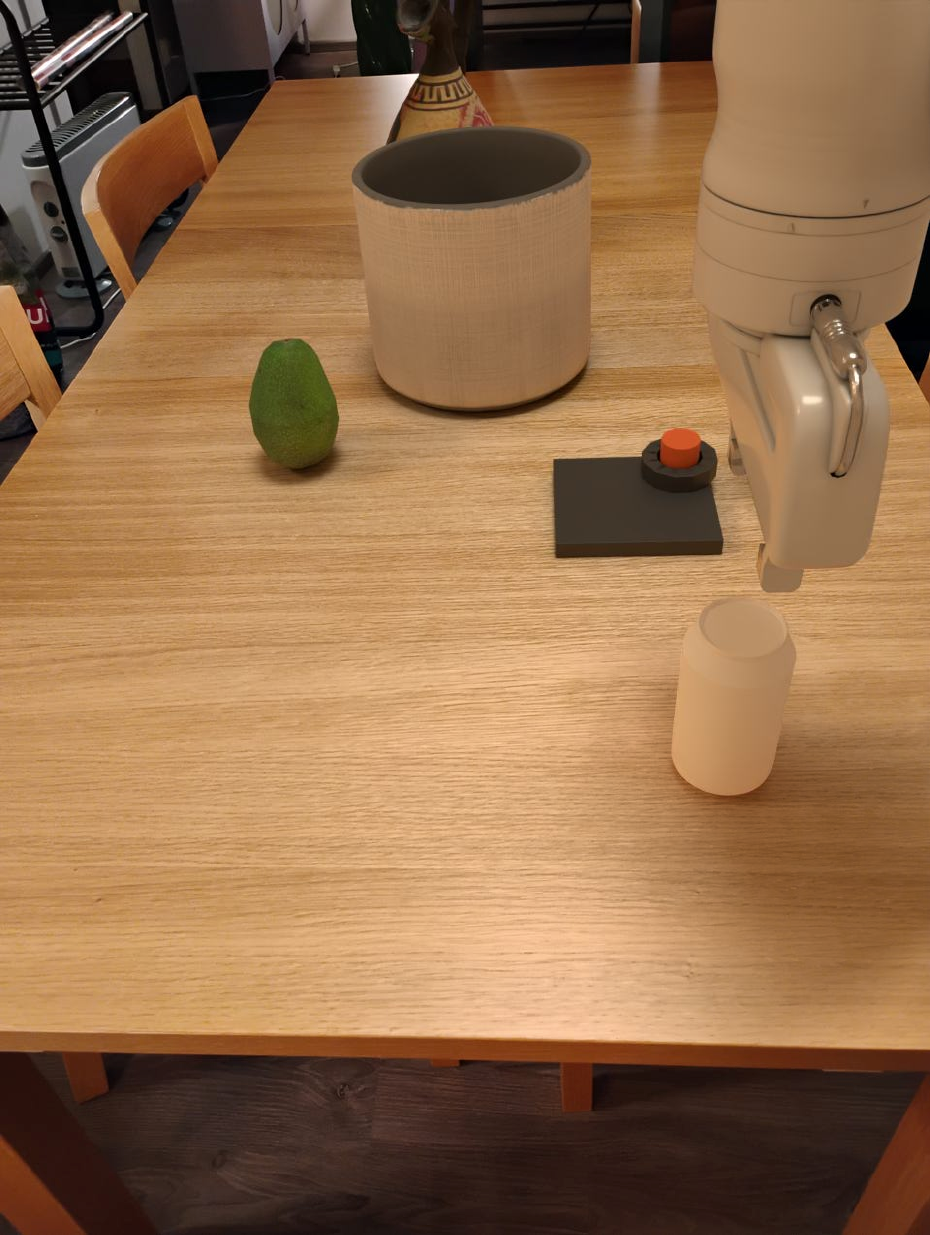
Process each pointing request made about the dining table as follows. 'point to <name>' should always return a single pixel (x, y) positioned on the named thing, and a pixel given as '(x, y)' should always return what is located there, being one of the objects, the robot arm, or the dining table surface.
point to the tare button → (680, 448)
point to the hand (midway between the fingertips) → (759, 521)
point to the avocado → (293, 405)
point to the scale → (635, 506)
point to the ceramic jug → (438, 70)
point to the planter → (477, 264)
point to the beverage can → (732, 695)
